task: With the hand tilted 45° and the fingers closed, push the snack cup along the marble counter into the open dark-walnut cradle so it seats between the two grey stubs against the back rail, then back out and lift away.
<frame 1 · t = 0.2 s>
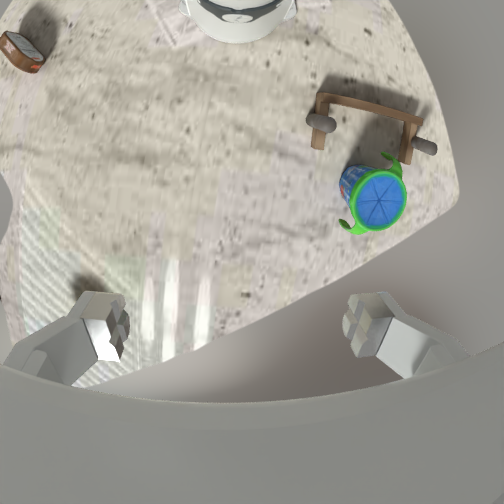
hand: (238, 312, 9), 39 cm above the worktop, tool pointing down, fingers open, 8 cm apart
tin: (32, 50, 26), on the worktop
cradle: (364, 136, 43), on the worktop
snack cup: (355, 182, 48), on the worktop
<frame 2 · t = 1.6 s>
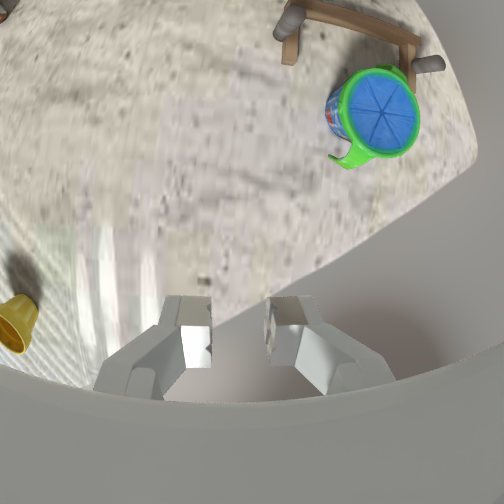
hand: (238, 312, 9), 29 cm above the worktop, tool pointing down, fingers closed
tin: (0, 10, 14), on the worktop
plant pot: (27, 305, 42), on the worktop
cradle: (351, 57, 29), on the worktop
snack cup: (347, 113, 33), on the worktop
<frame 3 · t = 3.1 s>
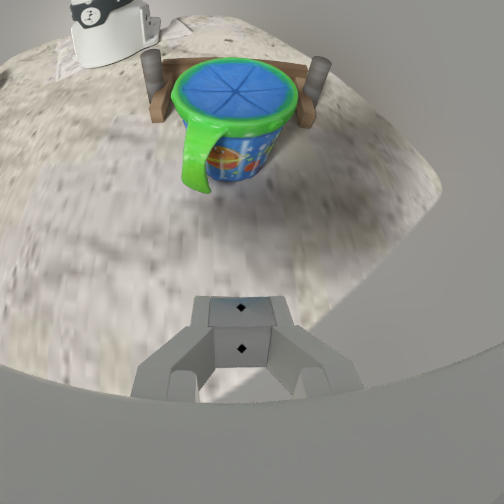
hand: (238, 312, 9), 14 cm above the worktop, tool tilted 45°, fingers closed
cradle: (232, 105, 32), on the worktop
snack cup: (230, 157, 29), on the worktop
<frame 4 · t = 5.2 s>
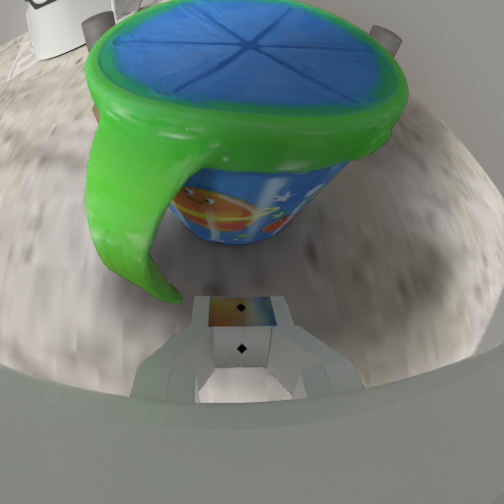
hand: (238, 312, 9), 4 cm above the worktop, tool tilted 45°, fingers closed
cradle: (236, 98, 19), on the worktop
snack cup: (234, 190, 16), on the worktop, touching gripper
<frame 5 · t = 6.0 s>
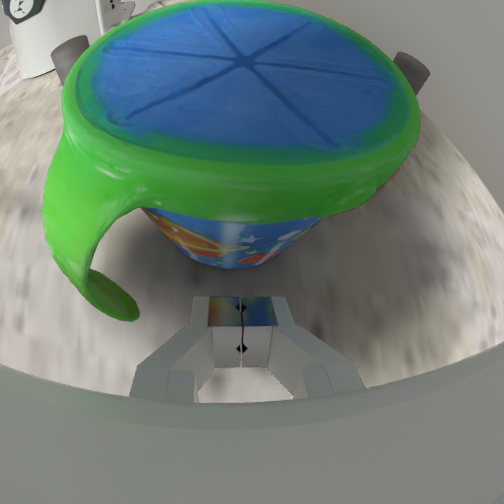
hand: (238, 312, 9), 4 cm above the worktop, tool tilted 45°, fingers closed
cradle: (236, 138, 17), on the worktop
snack cup: (231, 208, 15), on the worktop, touching gripper
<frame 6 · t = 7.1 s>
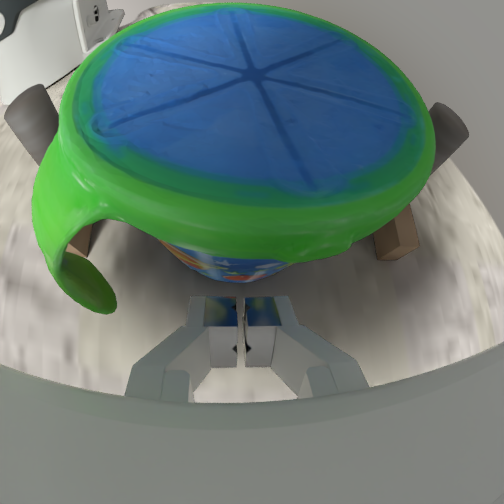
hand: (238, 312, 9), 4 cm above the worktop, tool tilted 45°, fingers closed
cradle: (234, 204, 15), on the worktop
snack cup: (235, 219, 15), on the worktop, touching cradle, gripper
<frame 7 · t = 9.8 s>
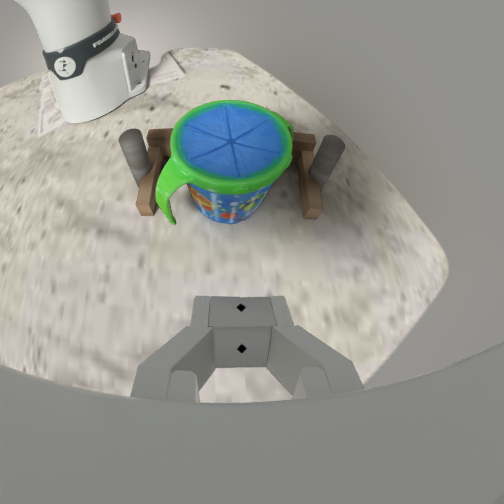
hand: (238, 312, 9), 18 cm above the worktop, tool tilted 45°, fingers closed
cradle: (229, 191, 31), on the worktop
snack cup: (228, 197, 31), on the worktop
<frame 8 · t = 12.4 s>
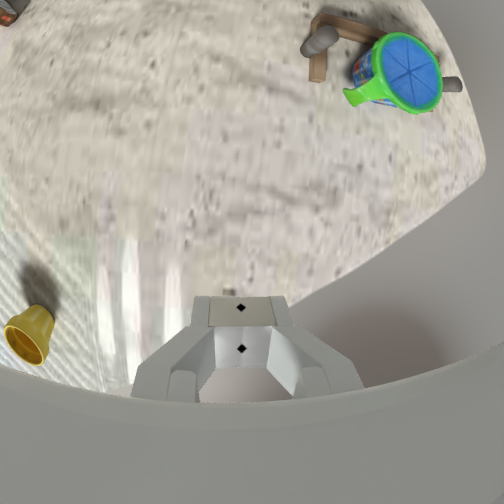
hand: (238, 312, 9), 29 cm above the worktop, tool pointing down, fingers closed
tin: (9, 11, 15), on the worktop
plant pot: (43, 316, 43), on the worktop
cradle: (373, 75, 30), on the worktop
snack cup: (372, 79, 31), on the worktop
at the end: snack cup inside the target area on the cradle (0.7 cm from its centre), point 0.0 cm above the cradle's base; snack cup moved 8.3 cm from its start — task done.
